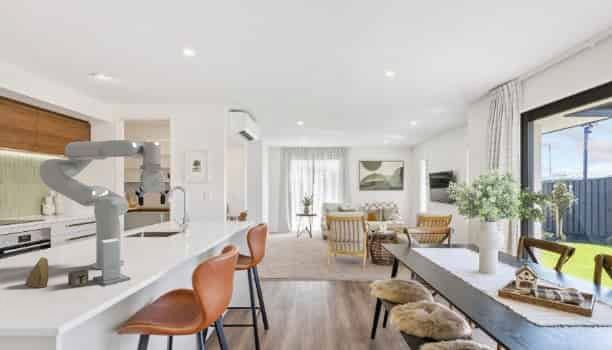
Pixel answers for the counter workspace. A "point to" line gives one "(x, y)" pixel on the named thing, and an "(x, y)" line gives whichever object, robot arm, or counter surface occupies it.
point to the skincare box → (110, 259)
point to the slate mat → (113, 281)
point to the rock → (38, 274)
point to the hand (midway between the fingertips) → (152, 204)
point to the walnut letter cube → (78, 277)
